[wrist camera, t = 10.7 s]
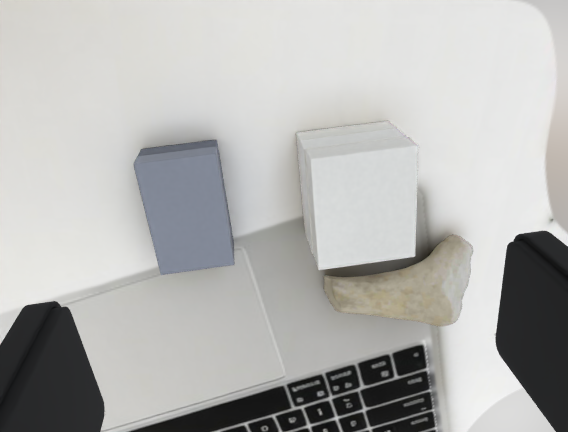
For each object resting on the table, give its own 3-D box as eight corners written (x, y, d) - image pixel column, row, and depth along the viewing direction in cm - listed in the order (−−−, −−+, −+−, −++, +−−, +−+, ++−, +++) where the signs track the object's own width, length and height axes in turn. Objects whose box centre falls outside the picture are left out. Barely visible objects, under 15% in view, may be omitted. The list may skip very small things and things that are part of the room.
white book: (305, 149, 29) (310, 158, 28) (408, 136, 30) (418, 145, 28) (313, 256, 33) (318, 270, 31) (406, 243, 33) (415, 257, 31)
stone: (459, 224, 37) (490, 257, 33) (468, 287, 40) (497, 325, 36) (318, 267, 37) (330, 305, 33) (336, 327, 40) (350, 369, 36)
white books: (295, 132, 32) (303, 148, 29) (389, 120, 33) (406, 135, 30) (304, 231, 36) (312, 256, 33) (389, 220, 36) (405, 243, 33)
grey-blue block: (141, 148, 32) (133, 163, 29) (216, 139, 32) (215, 153, 29) (165, 253, 35) (160, 275, 33) (233, 243, 36) (234, 265, 33)
